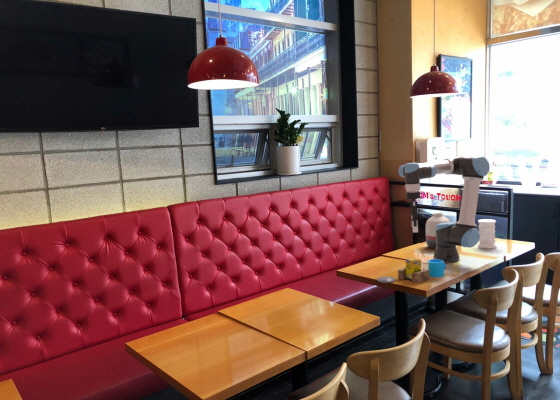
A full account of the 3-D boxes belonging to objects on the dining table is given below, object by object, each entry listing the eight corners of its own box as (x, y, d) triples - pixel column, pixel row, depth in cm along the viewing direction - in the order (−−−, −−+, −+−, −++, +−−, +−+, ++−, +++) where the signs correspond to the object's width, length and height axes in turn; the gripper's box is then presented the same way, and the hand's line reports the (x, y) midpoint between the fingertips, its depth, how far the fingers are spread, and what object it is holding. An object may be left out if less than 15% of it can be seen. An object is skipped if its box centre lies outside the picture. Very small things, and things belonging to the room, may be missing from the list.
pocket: (411, 274, 250) (410, 265, 249) (429, 278, 240) (429, 269, 240) (398, 278, 244) (398, 269, 243) (416, 283, 234) (416, 274, 233)
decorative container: (482, 244, 309) (481, 218, 307) (499, 246, 300) (499, 219, 298) (474, 247, 301) (474, 221, 299) (492, 249, 293) (492, 222, 291)
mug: (437, 278, 240) (437, 263, 239) (425, 275, 247) (424, 261, 246) (451, 273, 246) (451, 259, 245) (439, 271, 253) (438, 257, 252)
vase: (424, 245, 317) (423, 212, 314) (448, 244, 314) (448, 211, 312) (428, 250, 300) (427, 216, 298) (454, 249, 298) (454, 215, 295)
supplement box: (413, 281, 238) (413, 261, 237) (405, 278, 243) (405, 259, 242) (421, 279, 241) (421, 259, 239) (413, 276, 246) (413, 257, 245)
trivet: (385, 276, 249) (385, 275, 249) (399, 280, 241) (399, 278, 241) (373, 280, 244) (373, 279, 243) (387, 284, 235) (387, 283, 235)
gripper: (405, 188, 253) (407, 225, 256) (406, 194, 229) (408, 234, 232) (419, 188, 251) (420, 224, 254) (421, 194, 228) (423, 234, 230)
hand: (414, 229), depth 243 cm, fingers open, 13 cm apart
